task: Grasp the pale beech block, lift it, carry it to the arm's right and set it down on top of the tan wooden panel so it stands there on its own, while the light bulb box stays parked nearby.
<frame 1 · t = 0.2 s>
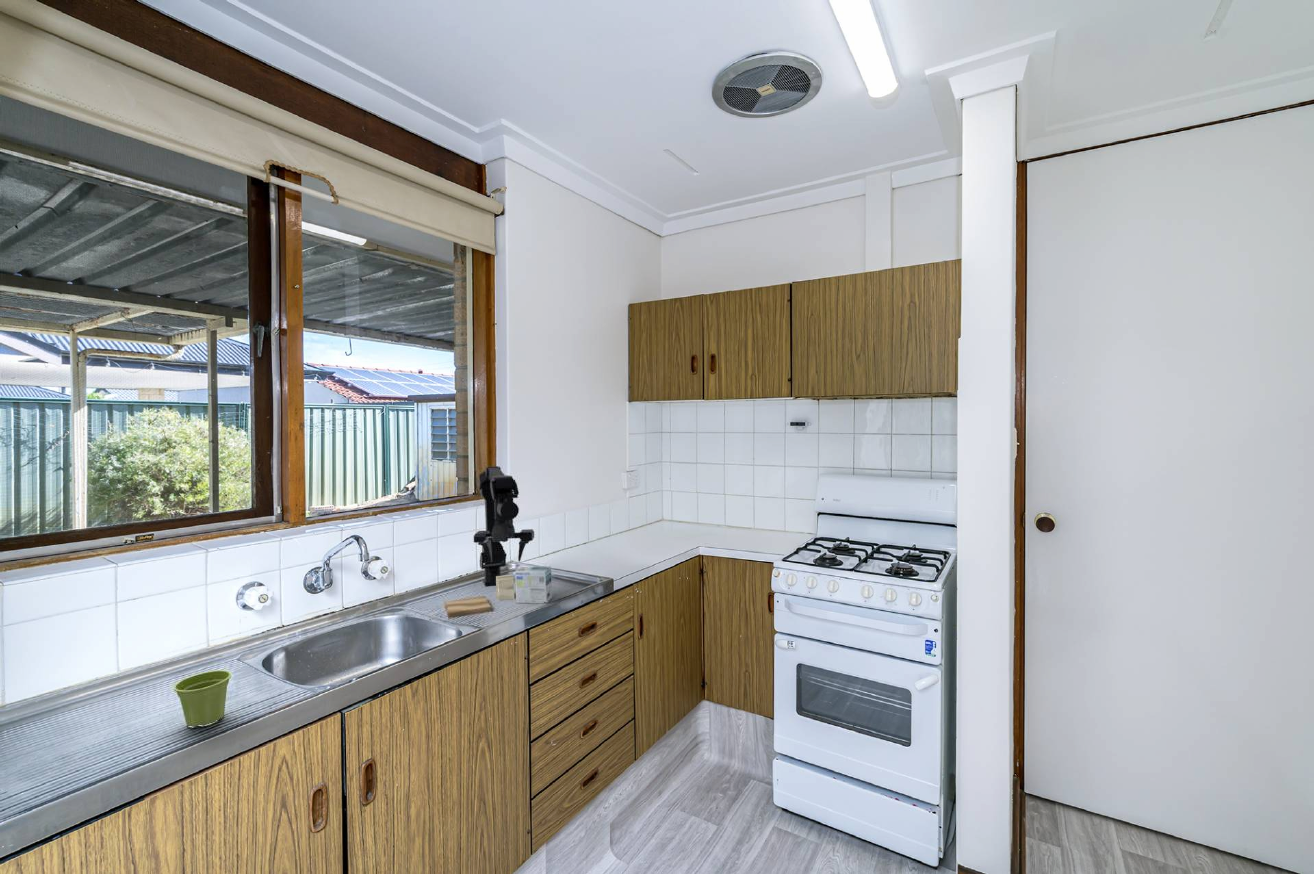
hand: (505, 561, 193), 14 cm above the counter, fingers open, 9 cm apart
light bulb box: (534, 601, 196), on the counter
beech block: (505, 597, 200), on the counter
tan wooden panel: (467, 610, 189), on the counter
plant pot: (205, 722, 121), on the counter
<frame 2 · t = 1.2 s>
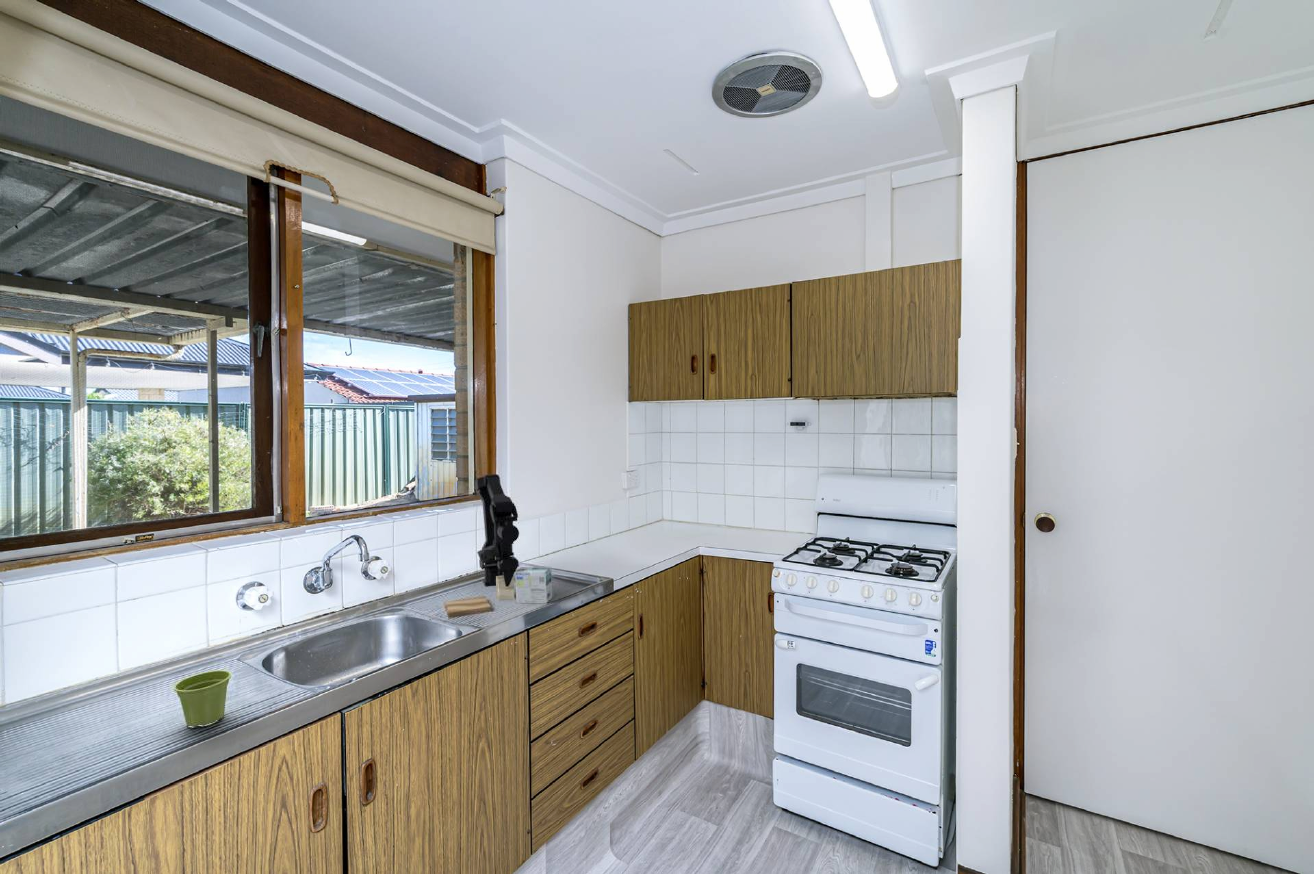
hand: (504, 583, 200), 5 cm above the counter, fingers open, 9 cm apart
light bulb box: (534, 601, 196), on the counter, touching gripper
everything else where it was.
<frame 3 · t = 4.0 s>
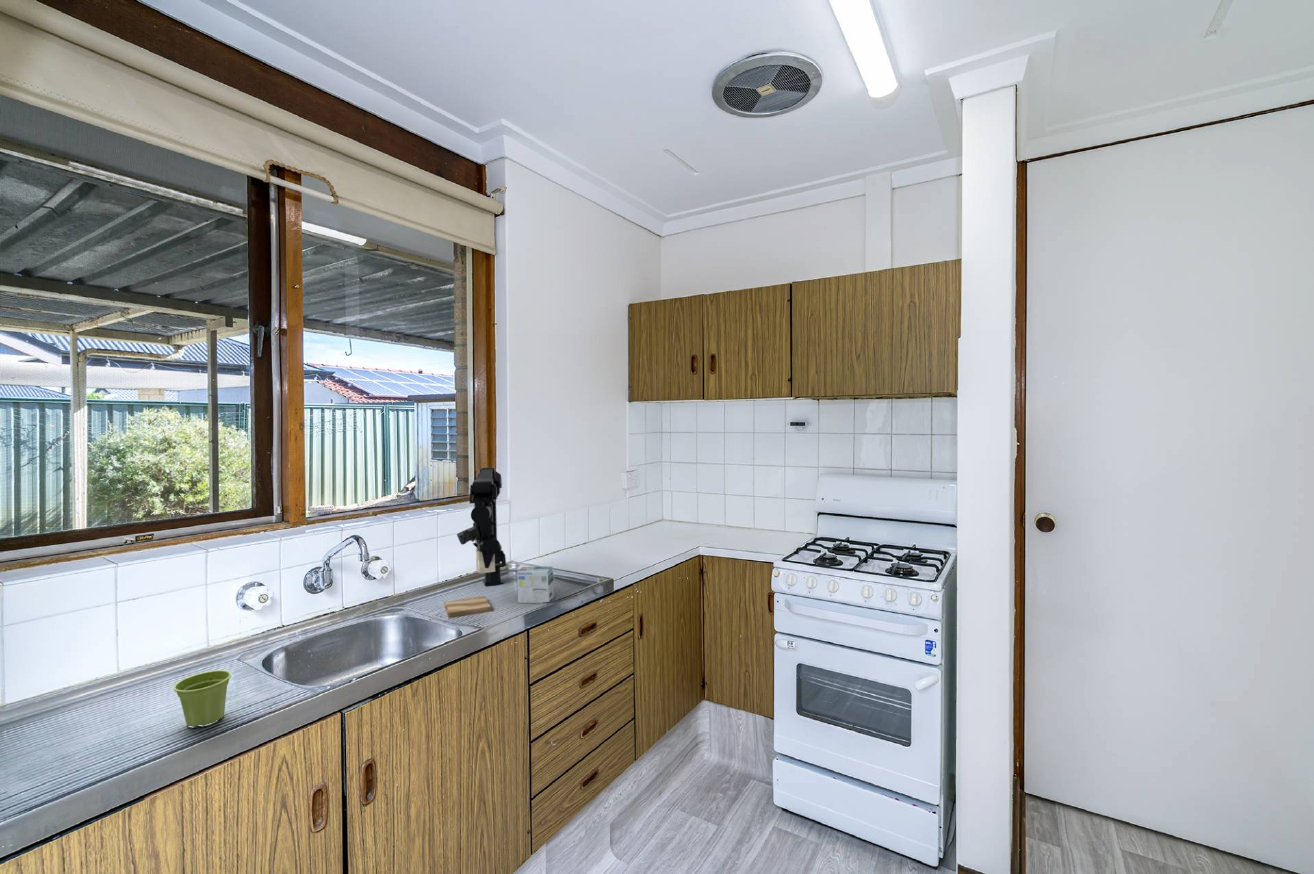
hand: (485, 566, 193), 12 cm above the counter, fingers closed on beech block, 5 cm apart
light bulb box: (536, 600, 196), on the counter
beech block: (485, 570, 193), point 11 cm above the counter, touching gripper
everything else where it was.
when the fingers open (4 cm above the counter, at t = 6.2 s): beech block drops 2 cm, resting on tan wooden panel.
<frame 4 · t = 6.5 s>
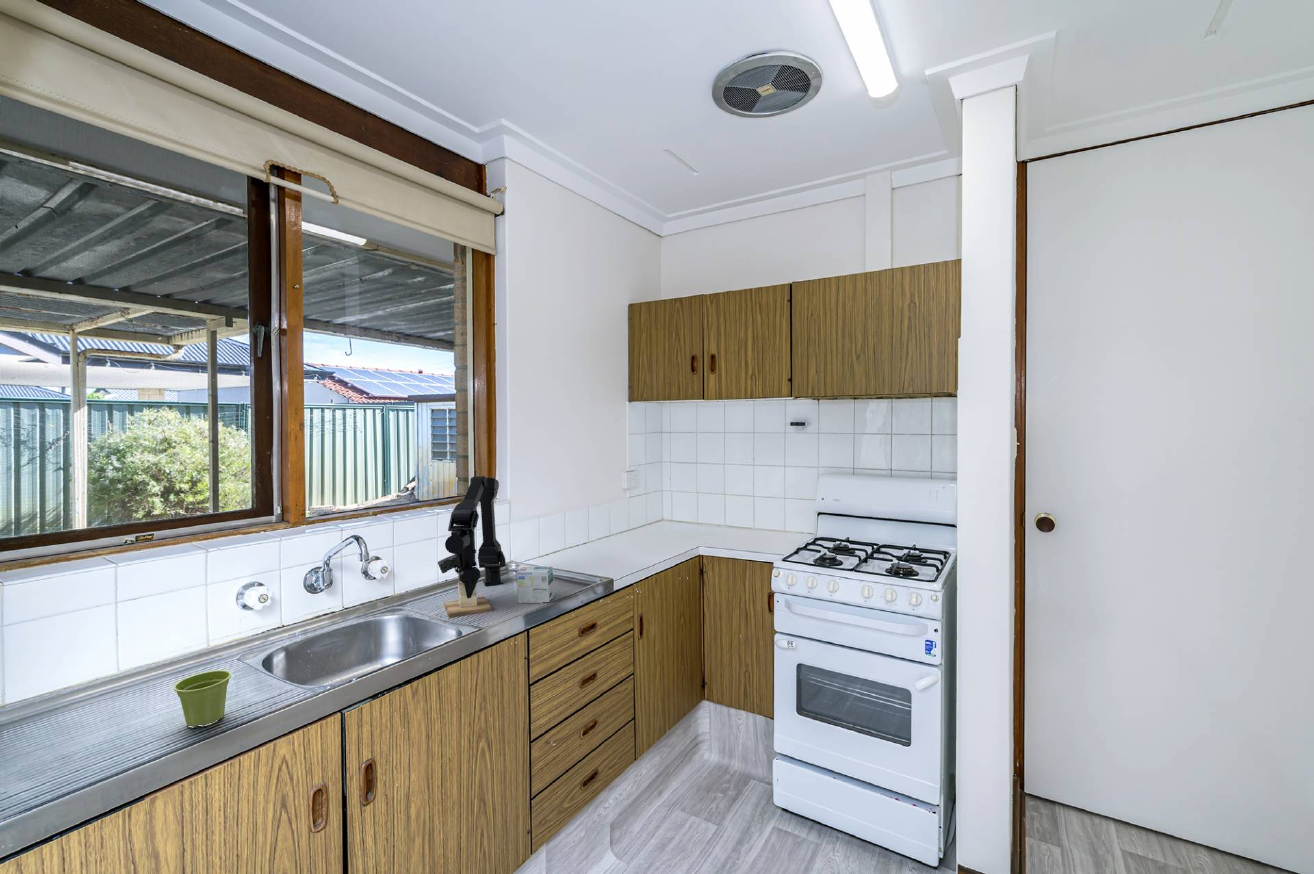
hand: (467, 594, 189), 4 cm above the counter, fingers open, 8 cm apart
beech block: (467, 604, 189), point 1 cm above the counter, touching tan wooden panel
tan wooden panel: (467, 610, 189), on the counter, touching beech block
everything else where it was.
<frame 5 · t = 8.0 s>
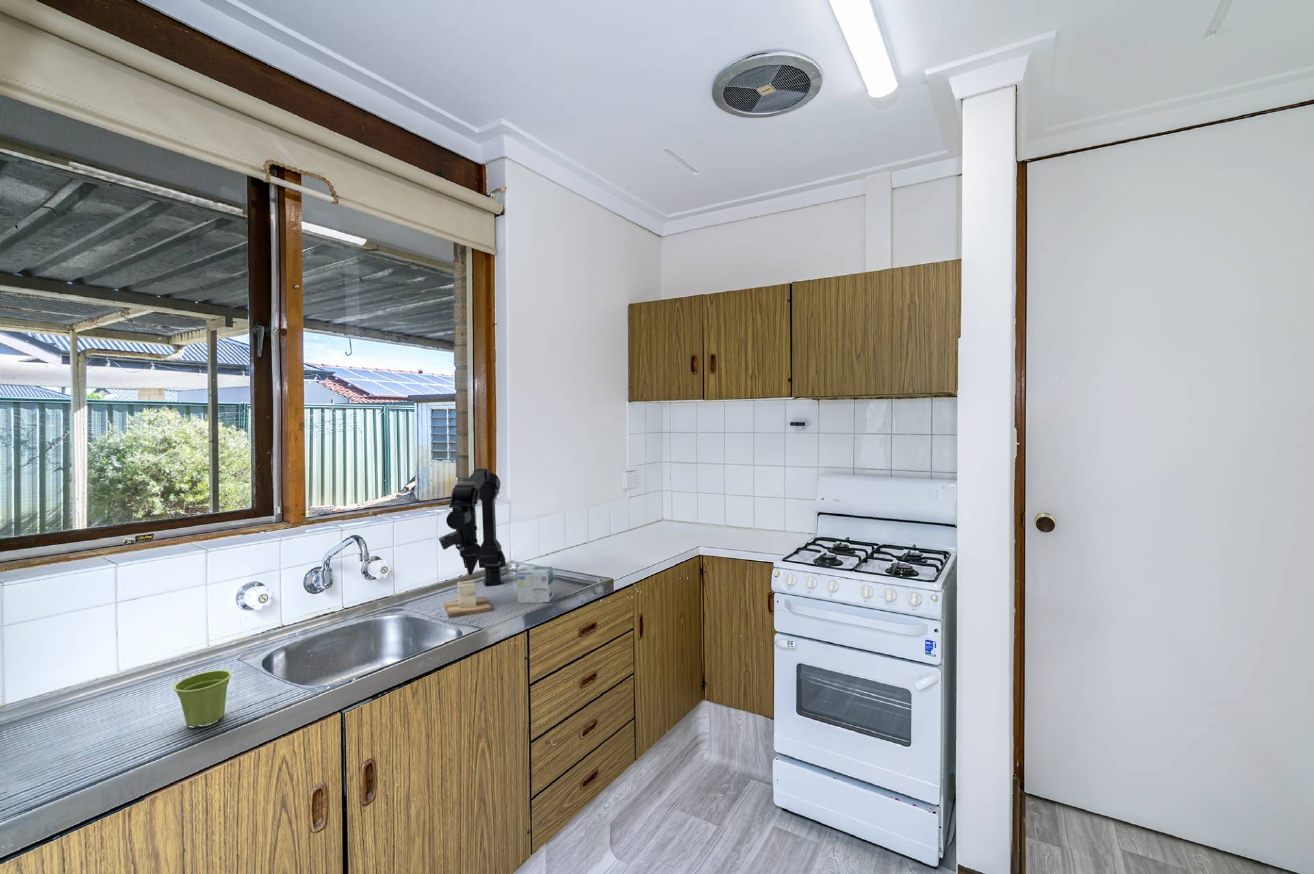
hand: (468, 571, 189), 12 cm above the counter, fingers open, 9 cm apart
beech block: (467, 604, 189), point 1 cm above the counter
tan wooden panel: (467, 610, 189), on the counter
everything else where it was.
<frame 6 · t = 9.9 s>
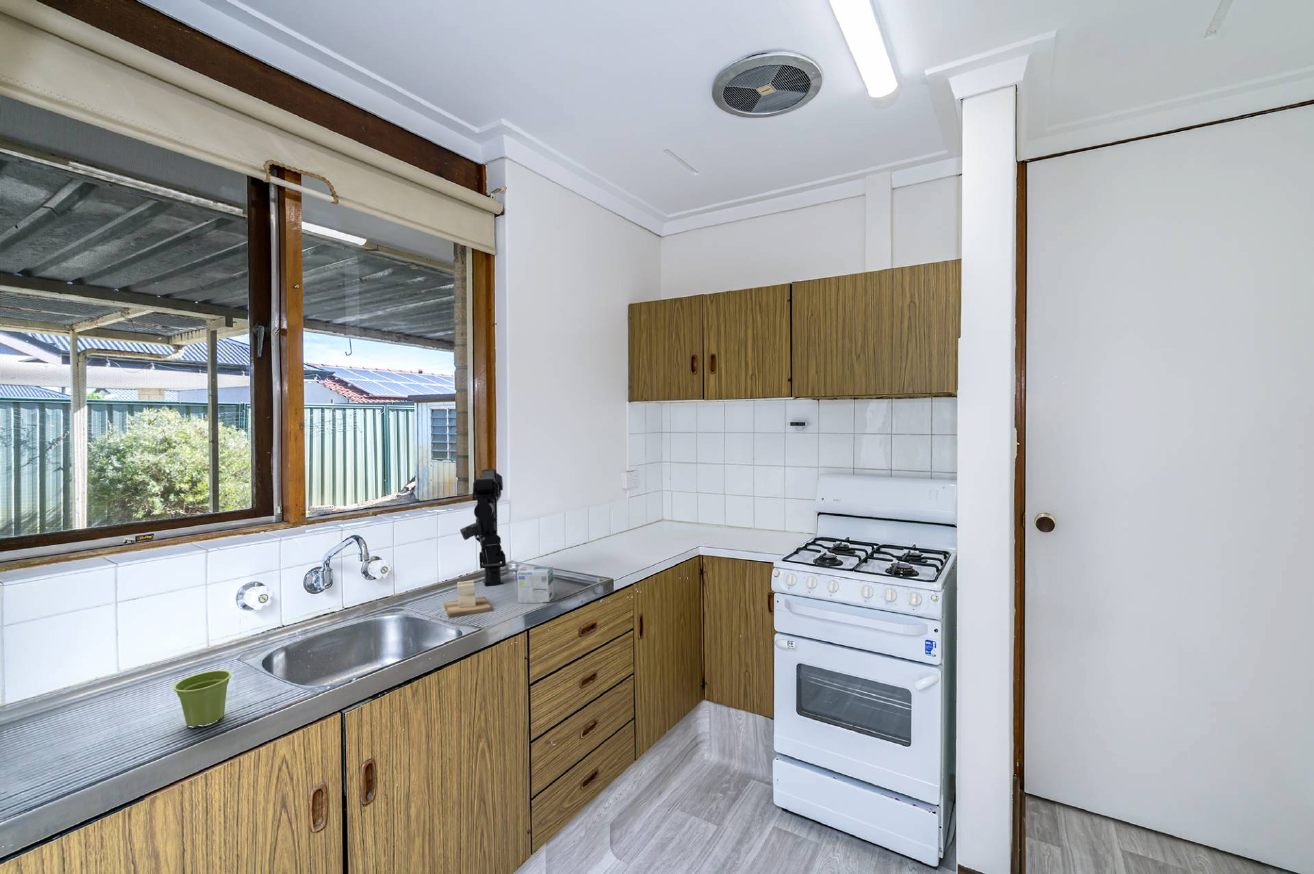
hand: (487, 560, 200), 13 cm above the counter, fingers open, 9 cm apart
beech block: (466, 604, 189), point 1 cm above the counter, touching tan wooden panel
tan wooden panel: (467, 610, 189), on the counter, touching beech block
everything else where it was.
at the end: beech block inside the target area on the tan wooden panel (0.4 cm from its centre), point 2.0 cm above the tan wooden panel's base; beech block tilted 1°; beech block touching tan wooden panel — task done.
